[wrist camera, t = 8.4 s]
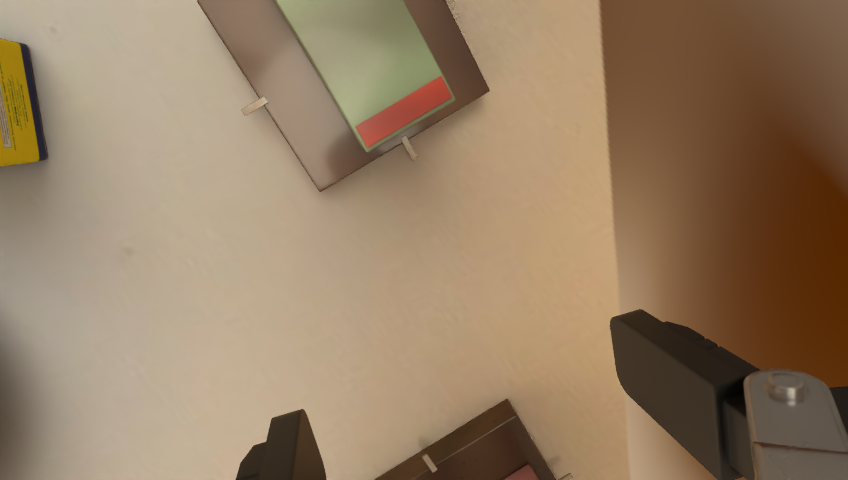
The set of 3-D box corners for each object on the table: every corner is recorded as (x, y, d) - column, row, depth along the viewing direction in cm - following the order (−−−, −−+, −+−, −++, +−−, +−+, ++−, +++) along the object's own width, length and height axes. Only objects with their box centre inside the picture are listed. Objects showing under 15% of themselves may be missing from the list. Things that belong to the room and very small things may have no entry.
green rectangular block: (265, -14, 25) (241, -58, 19) (343, -60, 25) (345, -118, 19) (361, 146, 27) (367, 153, 21) (431, 104, 27) (457, 99, 21)
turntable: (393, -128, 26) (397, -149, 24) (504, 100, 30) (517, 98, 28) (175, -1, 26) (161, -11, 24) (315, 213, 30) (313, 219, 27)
